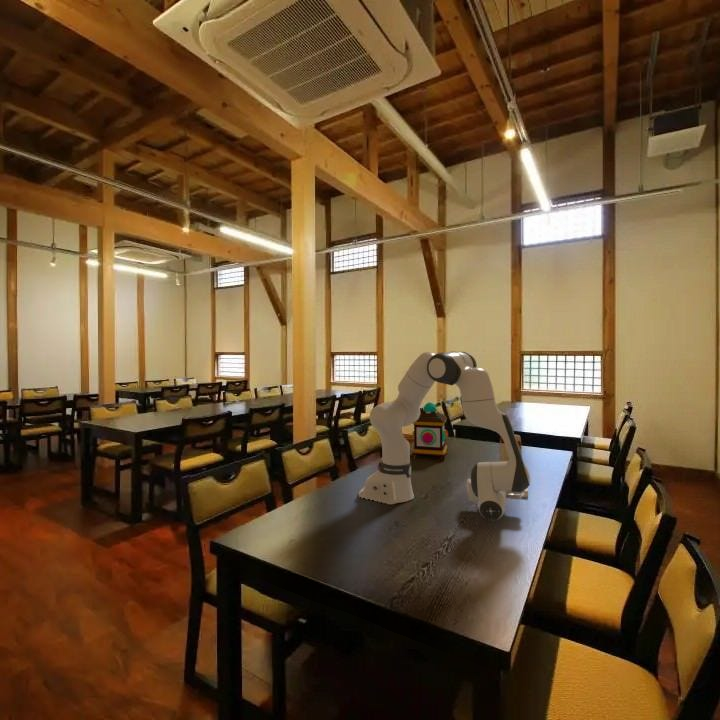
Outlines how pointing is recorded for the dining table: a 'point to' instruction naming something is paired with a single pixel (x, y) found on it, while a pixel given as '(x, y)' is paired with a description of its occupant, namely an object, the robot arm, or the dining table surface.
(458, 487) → the dining table surface
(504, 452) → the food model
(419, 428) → the decorative lantern
